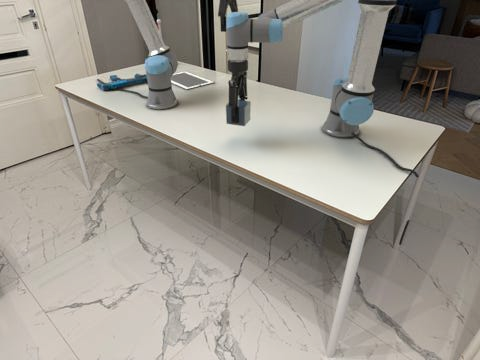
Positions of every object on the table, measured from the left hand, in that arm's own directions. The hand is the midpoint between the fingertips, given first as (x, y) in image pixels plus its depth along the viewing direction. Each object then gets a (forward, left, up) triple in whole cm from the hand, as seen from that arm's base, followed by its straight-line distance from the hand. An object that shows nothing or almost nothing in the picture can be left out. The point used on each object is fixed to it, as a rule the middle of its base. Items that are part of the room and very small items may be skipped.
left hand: (228, 29), depth 168 cm
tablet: (-42, -1, -35) cm, 54 cm away
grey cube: (+44, -32, -26) cm, 60 cm away
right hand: (+44, -32, -24) cm, 60 cm away
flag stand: (-83, +8, -35) cm, 90 cm away
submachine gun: (-63, -31, -35) cm, 78 cm away
